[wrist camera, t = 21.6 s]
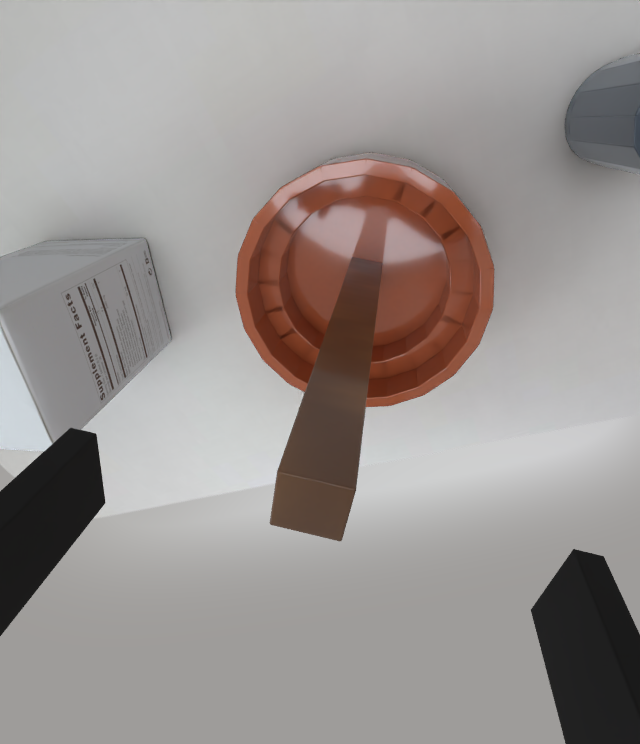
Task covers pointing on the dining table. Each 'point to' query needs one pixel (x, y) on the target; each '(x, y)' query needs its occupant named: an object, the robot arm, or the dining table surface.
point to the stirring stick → (331, 415)
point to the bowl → (375, 243)
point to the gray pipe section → (608, 116)
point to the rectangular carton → (73, 333)
